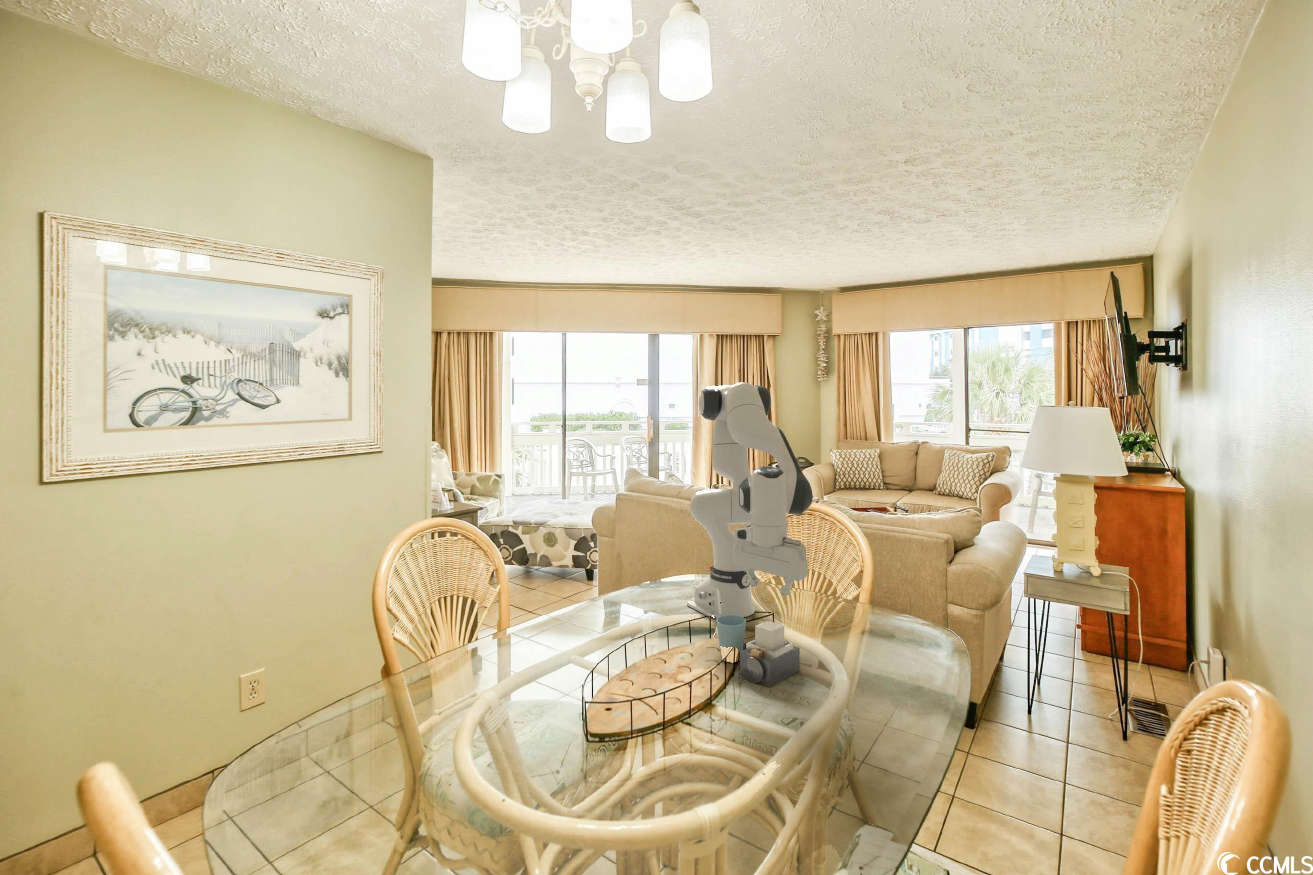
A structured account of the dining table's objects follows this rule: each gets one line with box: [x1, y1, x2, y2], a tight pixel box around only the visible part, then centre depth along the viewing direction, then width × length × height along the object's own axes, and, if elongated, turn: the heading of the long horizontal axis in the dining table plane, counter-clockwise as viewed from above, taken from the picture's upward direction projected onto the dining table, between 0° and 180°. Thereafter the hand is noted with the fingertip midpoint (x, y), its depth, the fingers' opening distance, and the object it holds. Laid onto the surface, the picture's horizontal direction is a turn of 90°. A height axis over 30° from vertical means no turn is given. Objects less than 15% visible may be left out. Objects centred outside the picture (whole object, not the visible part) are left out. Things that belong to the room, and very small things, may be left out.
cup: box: [715, 615, 747, 652], centre depth 160 cm, size 8×8×10 cm
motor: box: [739, 639, 801, 688], centre depth 152 cm, size 9×14×8 cm, turn 132°
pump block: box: [754, 620, 785, 652], centre depth 152 cm, size 5×6×6 cm
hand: (769, 589), depth 151 cm, fingers open, 8 cm apart
